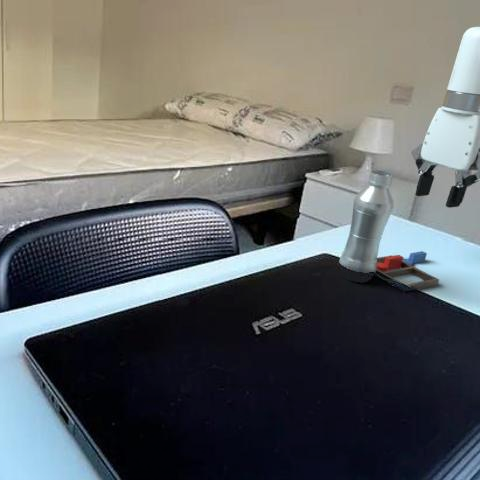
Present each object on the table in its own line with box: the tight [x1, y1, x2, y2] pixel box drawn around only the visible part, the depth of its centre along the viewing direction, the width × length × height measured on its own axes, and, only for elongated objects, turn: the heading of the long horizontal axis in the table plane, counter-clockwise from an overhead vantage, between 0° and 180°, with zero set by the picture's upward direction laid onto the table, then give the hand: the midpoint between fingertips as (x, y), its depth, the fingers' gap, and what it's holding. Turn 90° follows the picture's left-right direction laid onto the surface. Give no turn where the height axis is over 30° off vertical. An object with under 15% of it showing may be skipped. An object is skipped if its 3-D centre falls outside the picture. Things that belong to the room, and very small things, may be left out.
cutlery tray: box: [375, 255, 440, 291], centre depth 92 cm, size 9×11×2 cm
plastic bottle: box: [338, 169, 395, 273], centre depth 87 cm, size 6×7×20 cm
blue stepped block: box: [402, 250, 428, 266], centre depth 99 cm, size 6×2×2 cm, turn 116°
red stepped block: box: [376, 254, 404, 272], centre depth 94 cm, size 6×2×2 cm, turn 116°
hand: (436, 200), depth 95 cm, fingers open, 5 cm apart
